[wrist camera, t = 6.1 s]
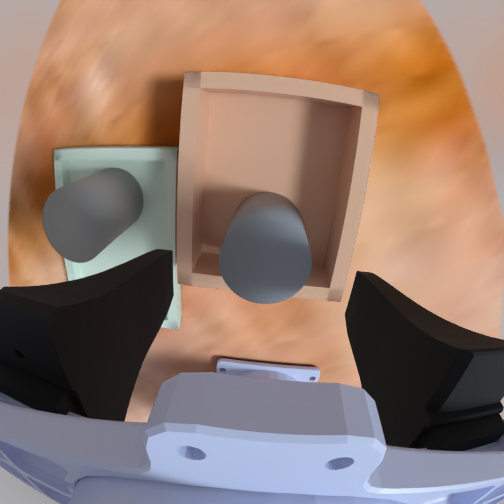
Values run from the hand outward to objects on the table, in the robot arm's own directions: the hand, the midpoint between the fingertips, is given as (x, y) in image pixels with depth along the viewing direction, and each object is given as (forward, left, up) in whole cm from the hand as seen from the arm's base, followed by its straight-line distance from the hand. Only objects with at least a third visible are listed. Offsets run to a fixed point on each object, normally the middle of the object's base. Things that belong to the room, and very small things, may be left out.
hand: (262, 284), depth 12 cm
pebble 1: (+1, +10, -7) cm, 12 cm away
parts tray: (-2, +10, -7) cm, 12 cm away
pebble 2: (0, 0, -7) cm, 7 cm away
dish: (+3, 0, -7) cm, 8 cm away
